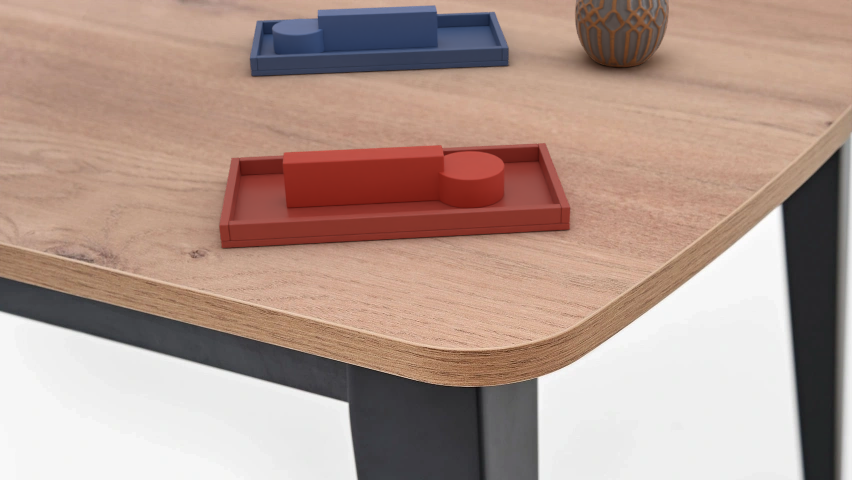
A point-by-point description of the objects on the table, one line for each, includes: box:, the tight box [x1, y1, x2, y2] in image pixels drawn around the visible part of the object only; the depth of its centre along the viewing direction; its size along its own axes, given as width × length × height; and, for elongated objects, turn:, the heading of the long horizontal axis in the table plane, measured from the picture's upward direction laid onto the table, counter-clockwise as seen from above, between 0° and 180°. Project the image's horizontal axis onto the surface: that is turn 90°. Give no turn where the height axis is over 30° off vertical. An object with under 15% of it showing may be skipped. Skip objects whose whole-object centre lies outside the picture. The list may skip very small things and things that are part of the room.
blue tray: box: [249, 11, 510, 77], centre depth 93 cm, size 19×9×1 cm, turn 96°
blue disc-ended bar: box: [272, 4, 438, 55], centre depth 93 cm, size 12×4×3 cm, turn 96°
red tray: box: [218, 142, 571, 249], centre depth 70 cm, size 19×9×1 cm, turn 96°
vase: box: [574, 0, 670, 68], centre depth 90 cm, size 7×7×9 cm
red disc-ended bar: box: [282, 144, 504, 208], centre depth 69 cm, size 12×4×3 cm, turn 96°
